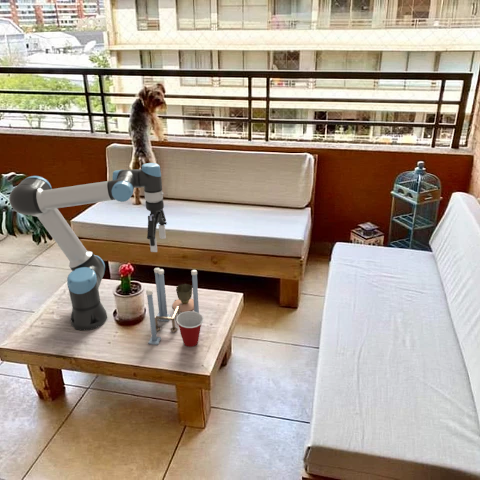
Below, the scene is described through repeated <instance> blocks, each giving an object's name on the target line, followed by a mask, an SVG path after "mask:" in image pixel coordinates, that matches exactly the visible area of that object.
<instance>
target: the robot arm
mask: <svg viewBox="0 0 480 480" xmlns="http://www.w3.org/2000/svg"><path fill="white" fill-rule="evenodd" d="M111 177H112V180H108V181H100V182H99V181H98V182H93V183H92V182H91V183H86V184H85V183H84V184H77V185H73V186H64V187H58V188H57V187H56V188H52V185H51V183H50V182H49V180H48V179H46V178H44V177H43V176H39V175H31V176H28V177H26V178H24V179H23V180H21V181H20V183H19V184H18V185H16V187H14V188H13V189H12V190H11V191H10V194H9V197H8V198H9V201H8V202H9V204H10V206H11V208H12V209H13V210H14V212H17V213H18V214H20V215H25V216H32V217H37V219H38V220H39V222H40V223H41V224H42V226H43V227H44V228H45V230H46V232H48V234H49V235H50V236H51V238H52V239H53V241H54V242H55V243H56V244H57V246H58V247H59V249H60V250H61V252H63V254H64V255H65V257H66V258H67V260H68V261H69V263H68V267H69V268H70V270H71V272H70V273H68V275H67V277H66V278H67V279H66V283H67V284H66V285H67V288H68V293H69V297H70V302H71V303H70V304H71V308H72V309H71V313H70V314H71V315H70V323H71V326H72V328H73V329H75V330H77V331H90V330H95V329H97V328H99V327H101V326H102V325H104V324H105V323H106V321H107V319H108V314H107V310H106V309H105V308H104V306H103V304H102V303H101V299H100V298H101V296H100V291H99V288H100V286H101V282H102V280H103V277H104V275H105V271H106V264H105V261H104V260H103V259H102V257H100V256H99V255H95V254H94V253H93V251H92V250H91V251H90V250H87V248H86V247H85V246H84V244H83V242H82V241H81V240H80V239H79V237H78V235H77V234H76V233H75V231H74V230H73V228H72V227H71V225H70V224H69V223H68V222H67V220H66V218H64V216H63V214H62V213H61V211H60V210H59V209H61V208H63V209H64V208H67V207H75V206H82V205H87V204H88V205H89V204H95V203H102V202H109V201H115V200H116V201H117V202H121V203H124V202H127V201H128V200H130V199H131V197H132V196H133V194H134V190H135V188H136V189H137V188H143V190H144V191H143V192H144V200H145V209H146V211H149V212H150V213H149V215H148V216H147V235H146V236H147V237H146V239H147V240H149V249H150V252H151V253H158V243H157V237H156V233H157V225H158V235H159V239H161V240H162V239H163V240H165V239H166V238H167V236H166V225H167V224H168V223H167V219H166V216H165V211H164V207H165V205H164V197H163V196H164V194H165V193H164V192H163V181H162V173H161V166H160V164H158V163H155V162H148V163H144V164H142V165H141V169H140V168H139V169H116V170H114V171H113V172H112V176H111Z"/></svg>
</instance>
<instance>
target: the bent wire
mask: <svg viewBox="0 0 480 480" xmlns="http://www.w3.org/2000/svg"><path fill="white" fill-rule="evenodd" d="M180 313H181V312H180V308H179V306H177V308H176V310H174V313H173V315H172V316H171V317H163V316H157V315H156V316H155V324H156V332H159V331H160V330H161V326H160V325H159V323H158V320H160V319H162V320H169V321H171V326H172V327H171V328H170V329H169V330H170V332H171V333H177V332H178V331H179V330H178V329H179V328H178V327H176V322H175V321H176V318H177V316H178V315H179V314H180Z"/></svg>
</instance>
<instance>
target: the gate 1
mask: <svg viewBox="0 0 480 480" xmlns="http://www.w3.org/2000/svg"><path fill="white" fill-rule="evenodd" d="M158 274H159V281H160V291H161V302H162V312H163V317H172V314H168V308H167V307H168V305H167V295H166V285H165V275H164V274H165V270H164V269H163V268H160V270H158ZM153 292H154V291H153V289H151V288H148V289H146V291H145V294H146V299H147V307H148V313H149V314H148V316H149V324H150V330H151V331H150V332H151V334H150V335H151V336H150V339H149V340H148V345H154V346H155V345H157V346H159V344H160V342H161V339H162V337H161V336H157V331H156V324H155V317H156V316H155V309H154V308H155V307H154V297H153ZM159 321H160V322H170V320H162V319H159Z"/></svg>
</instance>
